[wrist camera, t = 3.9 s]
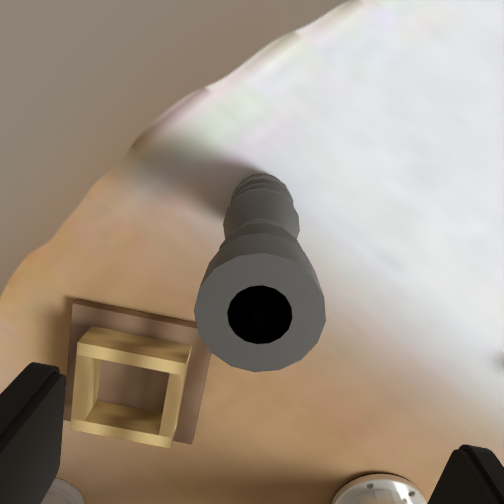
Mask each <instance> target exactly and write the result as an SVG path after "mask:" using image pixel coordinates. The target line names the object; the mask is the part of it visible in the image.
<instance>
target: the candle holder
mask: <svg viewBox="0 0 504 504" xmlns="http://www.w3.org/2000/svg"><path fill="white" fill-rule="evenodd" d="M223 227H224V233H225V241H224V242H223V243H222V244H221V246H220V249H219V251H218V253H217V254H216V255H215V256H214V258H213V259H212V260H211V261H210V263H209V265H208V268H207V270H206V273H205V275H204V278H203V280H202V283H201V286H200V288H199V292H198V296H197V300H196V304H195V308H194V313H195V319H196V324H197V330H198V334H199V335H200V337H201V338H202V340H203V341H204V343H205V344H206V346H207V347H208V349H209V350H210V352H211V353H213V354H214V355H216V356H217V357H219V358H220V359H221V360H223V361H224V362H226V363H227V364H229V365H230V366H233V367H237V368H241V369H245V370H248V371H252V372H261V371H273V370H280V369H282V368H284V367H287V366H289V365H291V364H293V363H295V362H297V361H300V360H301V359H302V358H303V357H304V356H305V355H306V354H307V353H308V352H309V351H310V350H311V349H312V348H313V347H314V346H315V345H316V344H317V343H318V340H319V338H320V335H321V332H322V330H323V327H324V324H325V322H326V317H325V303H324V296H323V293H322V290H321V287H320V284H319V281H318V279H317V276H316V273H315V271H314V269H313V267H312V265H311V263H310V261H309V260H308V258H307V256H306V254H305V252H303V250H302V248H301V246H300V245H299V243H298V241H297V237H298V234H299V231H300V230H299V218H298V214H297V212H296V210H295V208H294V206H293V200H292V197H291V195H290V193H289V191H288V189H287V187H286V185H285V184H284V183H282V182H281V181H280V180H279V179H277V178H276V177H273V176H270V175H266V174H260V175H252V176H250V177H249V178H247V179H245V180H243V181H242V182H241V183H240V185H239V186H238V187H237V188H236V190H235V191H234V194H233V196H232V200H231V204H230V206H229V207H228V209H227V212H226V215H225V219H224V223H223Z"/></svg>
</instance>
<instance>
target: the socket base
mask: <svg viewBox="0 0 504 504" xmlns="http://www.w3.org/2000/svg"><path fill="white" fill-rule="evenodd" d="M210 356H211V352H210V350H209V349H208V347H207V346H206V344H205V343H204V341H203V340H202V338H201V337H200V335H199V334H198V330H197V324H196V323H194V322H189V321H184V320H179V319H174V318H169V317H164V316H159V315H154V314H149V313H144V312H139V311H135V310H130V309H125V308H120V307H115V306H110V305H105V304H100V303H95V302H90V301H85V300H80V299H77V300H76V301H75V302H74V303H73V304H72V317H71V330H70V342H69V355H68V368H67V381H66V393H65V406H64V419H63V420H67V421H71V425H70V429H71V430H76V431H81V432H86V433H92V434H97V435H102V436H107V437H113V438H118V439H123V440H129V441H134V442H139V443H144V444H150V445H155V446H160V447H166V448H170V447H171V443H172V441H177V442H183V443H188V444H192V442H193V437H194V433H195V428H196V423H197V418H198V413H199V409H200V404H201V399H202V394H203V389H204V385H205V380H206V375H207V370H208V365H209V360H210Z"/></svg>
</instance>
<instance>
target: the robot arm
mask: <svg viewBox="0 0 504 504" xmlns="http://www.w3.org/2000/svg"><path fill="white" fill-rule="evenodd" d="M65 387H66V376H65V375H63V374H60V370H59V368H58V367H56V366H51V365H46V364H41V363H35V362H32V363H30V364H29V365H28V366H27V367H26V368H25V369H24V370H23V371H22V372H21V373H20V374H19V375H18V376H17V377H16V378H15V379H14V380H13V381H12V383H11V384H10V385H9V386H8V387H7V388H6V389H5V390H4V391H3V392H2V393H1V394H0V504H41V502H42V500H43V499H44V497H45V495H46V493H47V492H48V490H49V488H50V486H51V485H52V483H53V481H54V479H55V477H56V475H57V472H58V469H59V465H60V456H61V442H62V428H63V414H64V400H65ZM331 504H426V501H425V499H424V497H423V494H422V493H421V492H420V490H419V489H418V488H417V487H416V486H415V485H414V484H413V483H411V482H410V481H408V480H406V479H404V478H401V477H398V476H395V475H389V474H372V475H367V476H363V477H360V478H357V479H355V480H353V481H351V482H349V483H348V484H346V485H345V486H344V487H342V488H341V489H340V490H339V491H338V493H337V494H336V495H335V497H334V499H333V501H332V503H331ZM428 504H504V467H503V466H502V464H501V463H500V461H499V460H498V459H497V457H496V456H495V454H494V453H493V452H492V451H491V450H489V449H487V448H481V447H476V446H471V445H462V446H460V447H459V449H458V450H454V451H453V452H452V454H451V456H450V458H449V460H448V462H447V464H446V466H445V468H444V470H443V473H442V475H441V477H440V479H439V481H438V483H437V485H436V487H435V489H434V491H433V493H432V495H431V498H430V500H429V502H428Z"/></svg>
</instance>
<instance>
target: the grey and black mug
mask: <svg viewBox="0 0 504 504" xmlns="http://www.w3.org/2000/svg"><path fill="white" fill-rule="evenodd" d="M41 504H85V502H84V499H83V496H82V495H81V493H80V492H79V491H78V490H77V489H76V488H75V487H74V486H73V485H71V484H69V483H68V482H66V481H63V480H60V479H57V478H55V479H54V481H53V483H52V485H51V486H50V488H49V490H48V492H47V493H46V495H45V497H44V499H43V500H42V502H41Z"/></svg>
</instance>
